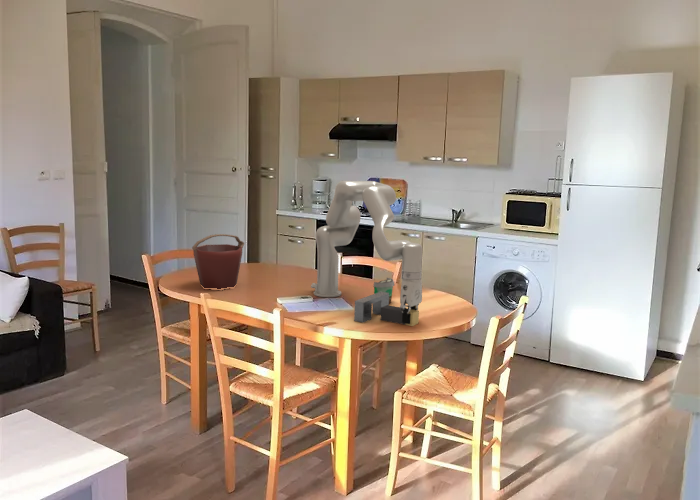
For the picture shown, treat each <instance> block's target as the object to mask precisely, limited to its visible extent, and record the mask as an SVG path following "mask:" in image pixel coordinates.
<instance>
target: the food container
mask: <svg viewBox="0 0 700 500" xmlns="http://www.w3.org/2000/svg"><path fill="white" fill-rule="evenodd" d="M372 286H373V288H374V289H373V294H375V293H378V292H387V293H389V305H390V304H392V298H393V290H394V289H393V288H394V286H395V281H394V279H393V278H390V277H386V279H384V280H380V281H379V282H377V281H374V282H373V285H372Z"/></svg>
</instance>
